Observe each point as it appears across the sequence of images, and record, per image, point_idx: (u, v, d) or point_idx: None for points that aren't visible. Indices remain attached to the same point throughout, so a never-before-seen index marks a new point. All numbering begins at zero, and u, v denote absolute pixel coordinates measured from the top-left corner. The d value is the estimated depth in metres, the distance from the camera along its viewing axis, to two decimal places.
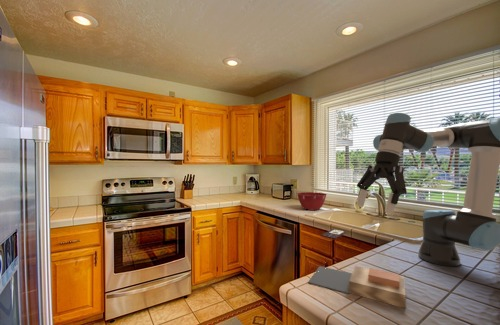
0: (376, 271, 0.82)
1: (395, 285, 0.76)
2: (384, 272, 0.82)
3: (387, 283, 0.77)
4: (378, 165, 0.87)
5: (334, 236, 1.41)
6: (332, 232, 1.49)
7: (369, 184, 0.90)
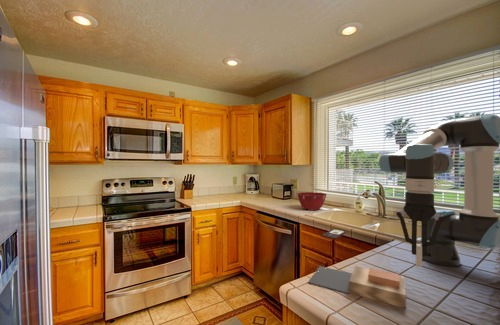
0: (376, 271, 0.82)
1: (395, 285, 0.76)
2: (384, 272, 0.82)
3: (387, 283, 0.77)
4: (409, 205, 0.76)
5: (334, 236, 1.41)
6: (332, 232, 1.49)
7: None
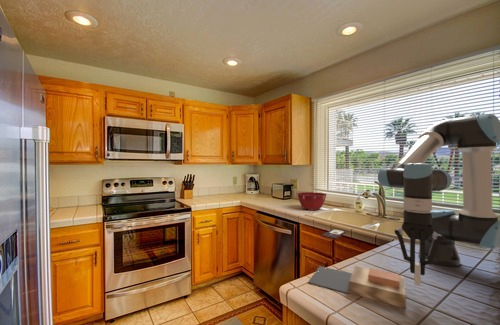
0: (376, 271, 0.82)
1: (395, 285, 0.76)
2: (384, 272, 0.82)
3: (387, 283, 0.77)
4: (407, 224, 0.76)
5: (334, 236, 1.41)
6: (332, 232, 1.49)
7: (414, 251, 0.76)
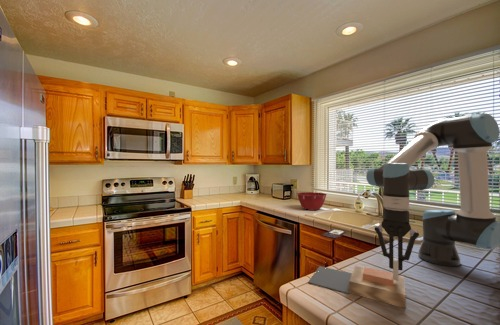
0: (371, 270, 0.83)
1: (389, 284, 0.77)
2: (378, 271, 0.83)
3: (381, 282, 0.78)
4: (386, 221, 0.79)
5: (334, 236, 1.41)
6: (332, 232, 1.49)
7: None
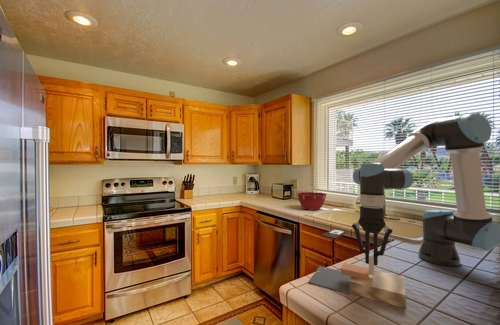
0: (349, 265, 0.87)
1: (365, 278, 0.81)
2: (356, 266, 0.86)
3: (358, 276, 0.82)
4: (362, 218, 0.83)
5: (334, 236, 1.41)
6: (332, 232, 1.49)
7: (369, 244, 0.83)
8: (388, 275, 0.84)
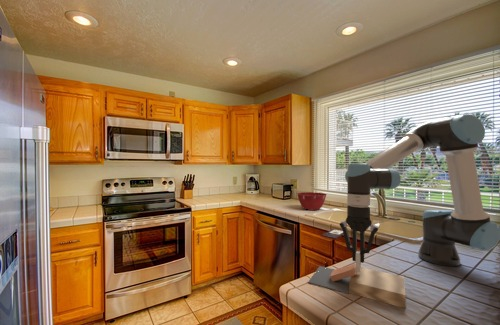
0: (337, 270, 0.89)
1: (351, 274, 0.83)
2: (343, 267, 0.89)
3: (346, 276, 0.84)
4: (349, 217, 0.85)
5: (334, 236, 1.41)
6: (332, 232, 1.49)
7: (356, 242, 0.85)
8: (388, 275, 0.84)
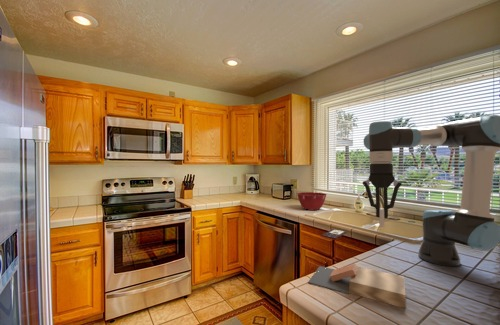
0: (337, 270, 0.89)
1: (351, 274, 0.83)
2: (343, 267, 0.89)
3: (346, 276, 0.84)
4: (372, 175, 0.87)
5: (334, 236, 1.41)
6: (332, 232, 1.49)
7: (379, 198, 0.87)
8: (388, 275, 0.84)
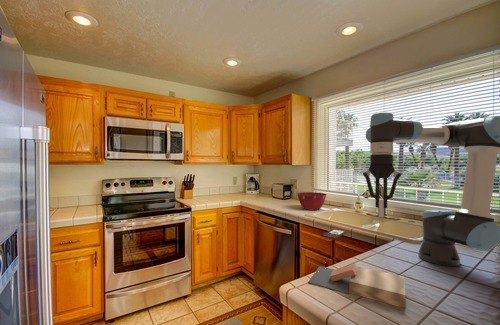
0: (337, 270, 0.89)
1: (351, 274, 0.83)
2: (343, 267, 0.89)
3: (346, 276, 0.84)
4: (372, 165, 0.89)
5: (334, 236, 1.41)
6: (332, 232, 1.49)
7: None
8: (388, 275, 0.84)
